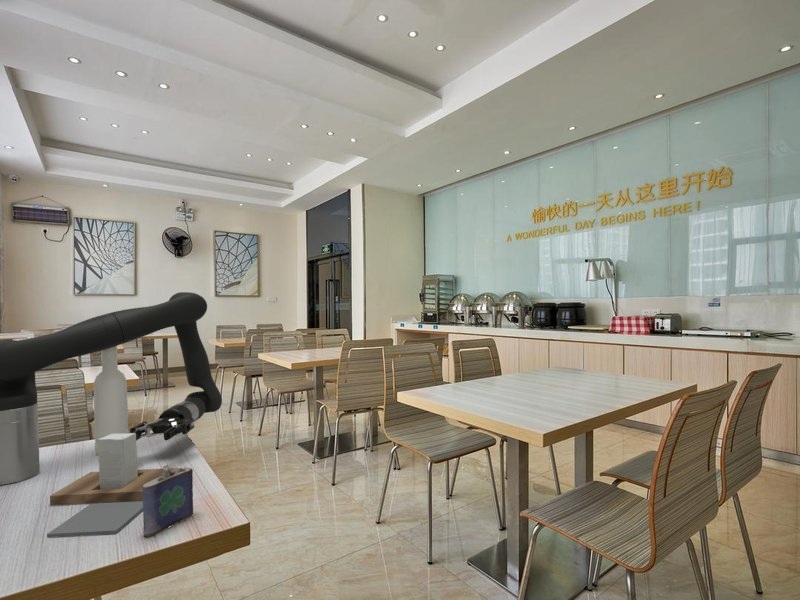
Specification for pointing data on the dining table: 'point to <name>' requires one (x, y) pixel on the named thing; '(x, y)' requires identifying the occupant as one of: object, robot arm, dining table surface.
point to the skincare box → (117, 460)
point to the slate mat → (99, 519)
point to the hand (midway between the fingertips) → (147, 437)
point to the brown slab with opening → (90, 492)
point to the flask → (167, 500)
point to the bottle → (110, 398)
